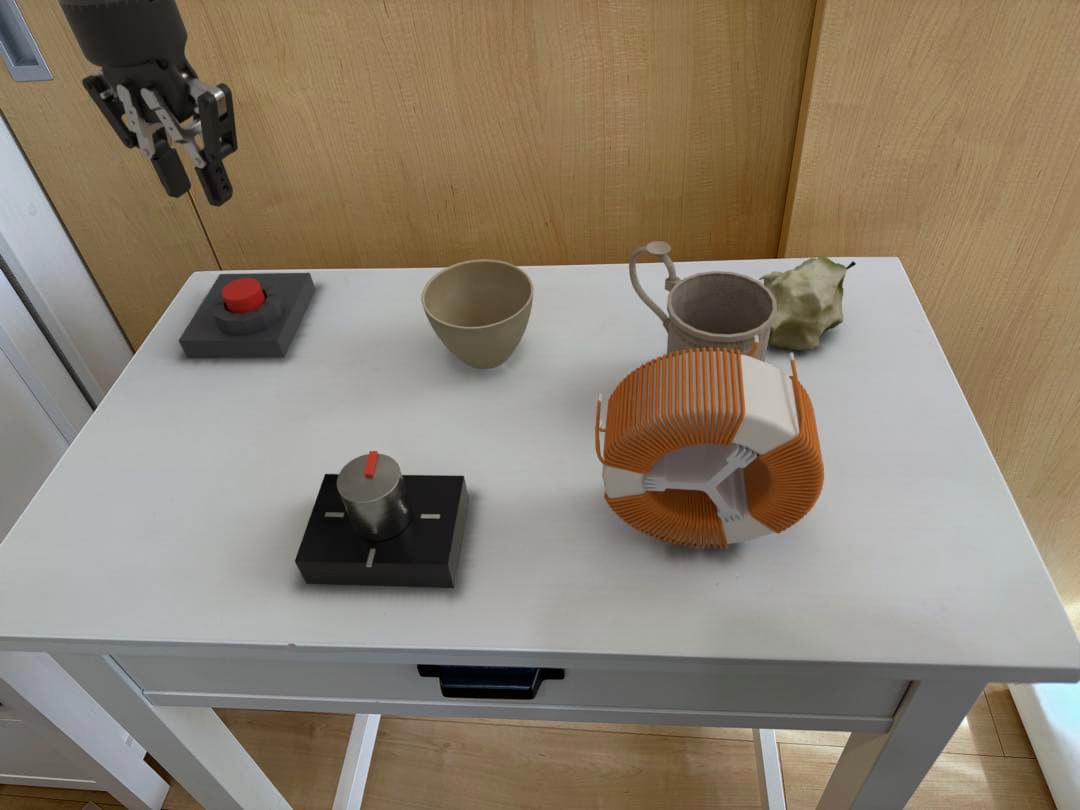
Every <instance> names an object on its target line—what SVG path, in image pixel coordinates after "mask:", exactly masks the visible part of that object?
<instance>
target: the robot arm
mask: <svg viewBox="0 0 1080 810" xmlns="http://www.w3.org/2000/svg"><path fill="white" fill-rule="evenodd" d="M57 2H58V4H59V6H60V8H61V10H62V13H63V14H64V16H65V19H66V21H67V23H68V26H69V28H70V29H71V31H72V33H73V35H74V38H75V40H76V42H77V44H78V47H79V48H80V51H81V53H82V54H83V56H84V58H85V60H86V61H88V62H89V63H90V64H92V65H94V66H96V67H99V68H101V69H100V70H98V71H96V72H94V73H92V74H90V75H88V76H86V77H83V79H82V80H81V85H82V86H83V88H84V89H85V91H86V92H87V94H88V95H89V97H90V98H91V99H92V101H93V102H94V104H95V105H96V106H97V108H98V109H99V111H100V112H101V114H102V115H103V117H104V118H105V119H106V121H107V123H108V124H109V125H110V126H111V127H112V130H113V131H114V132H115V134H116V135H117V137H118V138H119V140H120V141H121V142H122V144H123V145H124V147H126V148H128V149H130V150H133V149H134V148H137V149H139V150H140V152H141V154H142V155H143V156H144V157H145V158H146V159H149V161H150V163H151V165H152V166H153V168H154V171H155V173H156V175H157V177H158V180H159V182H160V184H161V186H162V187H163V188H164V190H165V193H166V194H167V196H168V197H171V198H175V199H178V198H180V197H182V196H183V195H185V194H186V193H188V192H189V191H190V190H191V188H192V183H191V180H190V178H189V175H188V174H187V171H186V169H185V167H184V164H183V162H182V160H181V157H180V155H179V153H178V150H177V148H174V147H172V146H173V142H174V143H177V144H180V145H181V146H182V147H183V149H184V151H185V152H186V154H187V155H188V157H189V158H190V161H192V163H193V164H194V167H193V168H194V172H195V173H196V176H197V178H198V180H199V183H200V185H201V188H202V190H203V192H204V195H205V197H206V199H207V202H208V204H209V205H210V206H213V207H217V208H218V207H219V208H220V207H221V206H223V205H224V204H226V203H227V202H228V201H230V200H231V199H232V197H233V193H234V188H233V185H232V183H231V179H230V178H229V175H228V172H227V169H226V168H225V165H224V162H223V160H224V159H225V158H227V157H229V156H230V155H232V154H234V153H235V152H236V151H238V149H239V146H238V145H239V144H238V137H237V127H236V120H235V119H236V118H235V111H234V110H235V109H234V101H233V92H232V90H231V88H230V87H229V86H228V85H227V84H226V83H224V82H220V83H218V84H217V85H214V86H213V85H211V84H209V83H207V82H204V81H202V80H200V79H199V76H198V74H197V72H196V71H195V69H194V67H192V65H191V63H190V62H189V60H188V59H187V57H186V54H185V53H186V52H185V51H186V45H187V41H188V37H189V35H188V31H187V29H186V26H185V23H184V20H183V18H182V15H181V13H180V10H179V7H178V5H177V2H176V0H57ZM124 115H125V116H126V120H127V124H128V126H127V124H126V123H125V122H124V120H123V116H124ZM191 118H192V122H190V123H188V124H187V125H185V126H184V127H183V126H182V123H184V122H186V121H188V120H189V119H191ZM198 135H199V137H200V138H201V140H202V143H203V147H202V148H200V145H199V144H198V142H197V141H196V136H198Z"/></svg>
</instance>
